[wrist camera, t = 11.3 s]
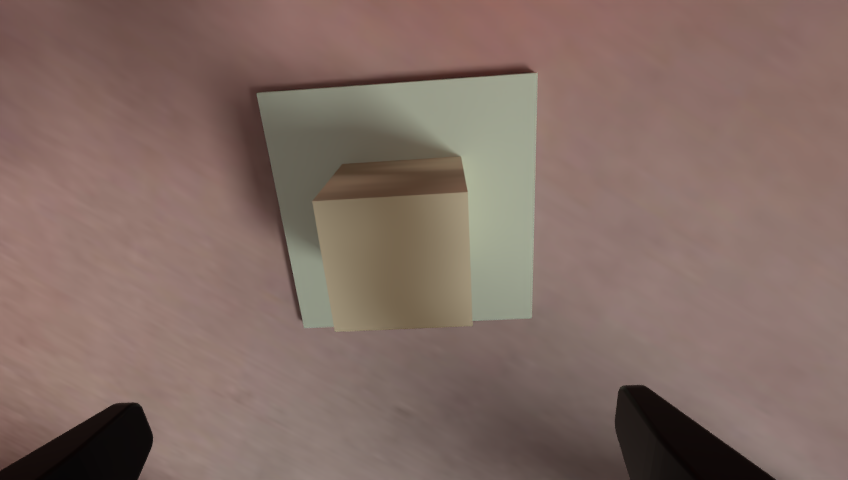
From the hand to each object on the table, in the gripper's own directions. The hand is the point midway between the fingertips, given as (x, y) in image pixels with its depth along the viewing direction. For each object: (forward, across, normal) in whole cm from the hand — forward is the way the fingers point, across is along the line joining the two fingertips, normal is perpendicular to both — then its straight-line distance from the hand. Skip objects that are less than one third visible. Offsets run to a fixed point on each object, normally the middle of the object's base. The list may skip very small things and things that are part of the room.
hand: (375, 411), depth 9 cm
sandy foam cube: (+10, 0, 0) cm, 11 cm away
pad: (+11, 0, 0) cm, 11 cm away
